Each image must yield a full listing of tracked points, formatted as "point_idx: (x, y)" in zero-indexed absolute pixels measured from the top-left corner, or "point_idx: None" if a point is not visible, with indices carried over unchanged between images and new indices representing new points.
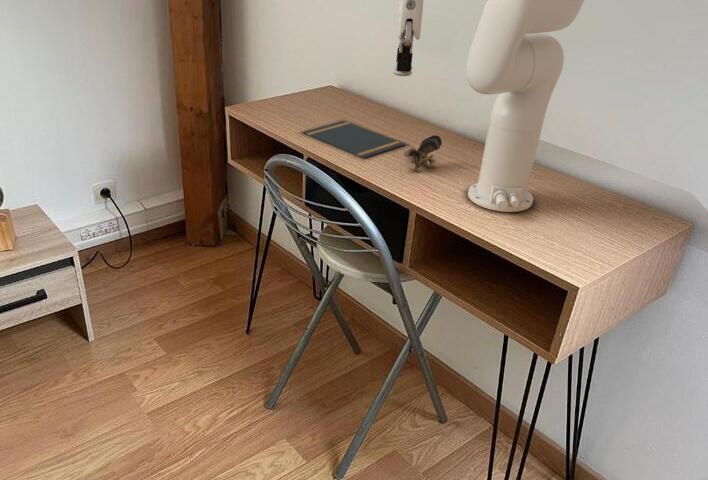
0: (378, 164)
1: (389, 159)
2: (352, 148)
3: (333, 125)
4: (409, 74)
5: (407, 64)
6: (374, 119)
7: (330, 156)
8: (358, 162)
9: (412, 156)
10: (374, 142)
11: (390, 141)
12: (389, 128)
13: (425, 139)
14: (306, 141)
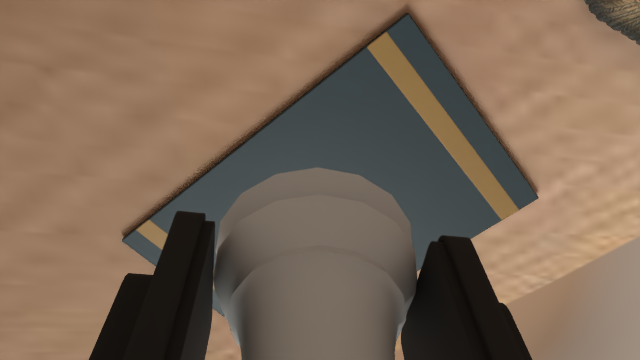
0: (604, 152)
1: (565, 106)
2: (445, 229)
3: None
4: (393, 200)
5: (516, 331)
6: (41, 111)
7: (495, 288)
8: (567, 214)
9: (594, 9)
10: (384, 148)
11: (372, 79)
12: (165, 53)
13: None
14: None
